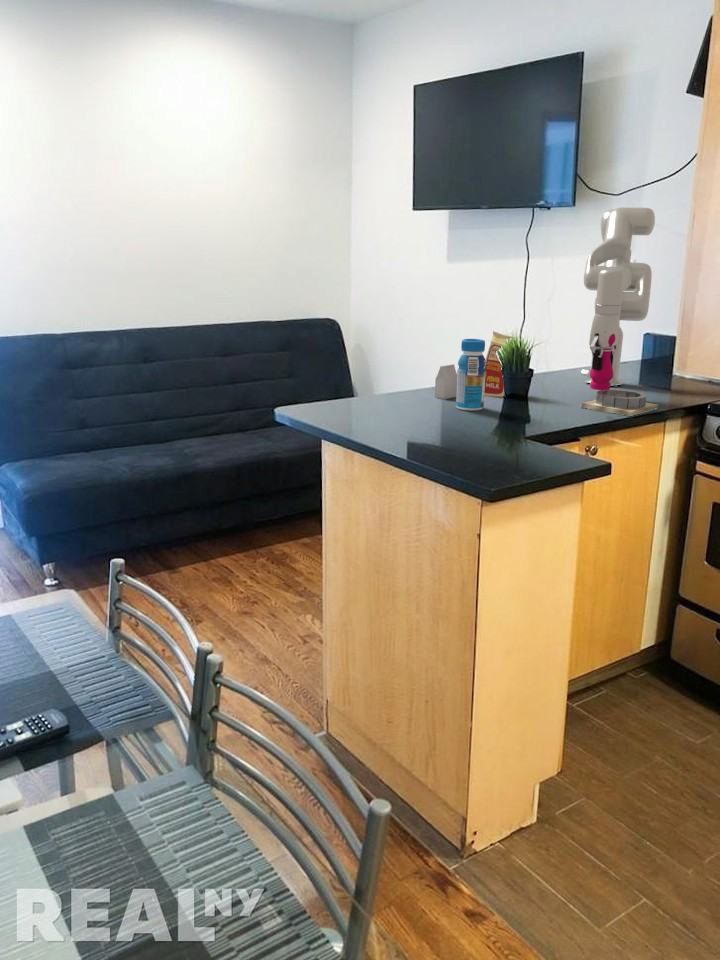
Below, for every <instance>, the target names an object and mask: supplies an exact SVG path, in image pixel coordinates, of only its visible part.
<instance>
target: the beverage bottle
mask: <svg viewBox="0 0 720 960" xmlns="http://www.w3.org/2000/svg"><path fill="white" fill-rule="evenodd" d="M460 347H461V352H463V353H462V354H461V355H460V357H459V359H458V362H457V365H458V368H457V371H456V373H457V396H456V397H455V398H456V399H455V407H456V409H458V410H462V411H471V412H472V411H473V412H474V411H480V410H483V409H484V407H485V396H484V390H485V377H486V370H485V366H486V357H485V356H484V353H485V351H486V348H485V347H486V340H484V339H479V338H463V339H461V346H460Z"/></svg>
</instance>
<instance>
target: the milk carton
mask: <svg viewBox="0 0 720 960" xmlns="http://www.w3.org/2000/svg"><path fill="white" fill-rule="evenodd" d="M510 338H514V339H515V338H516V337H515V336H512V335H511V336H510V335H506V334H502V333H499V332H497V331H494V330H493V331H492V337H491V341H490V344H489V347H488V350H487V355H486V356H485V360H486V366H485V370H486V377H485V390H484V397H495V398H496V397H497V398H498V397H499V398H504V397H503V396H504V383H503V377H502V370H501V364H500V362H499V360H498V358H497V355H496V351H497V350H499V349H500V348H501V346H502V345H503V343H504V341H505V340H506V339H510Z"/></svg>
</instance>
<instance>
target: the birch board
mask: <svg viewBox="0 0 720 960" xmlns="http://www.w3.org/2000/svg"><path fill="white" fill-rule="evenodd" d="M657 407H658V408H659V404H656V403H650V402H646V404H645V407H642V408H637V409H623V408H612V407H606V406H602V405H599V404H596V399H594V400H590V401H586V402H585V401H584V402H582V403H581V408H582V409H585V408H587V409H586V410H590V409H593V410H592V411H596V410H600V411H599V412H601V411H605V412H604V413H607V412H612V413H618V414H624V415H630V416H631V415H635V414H638V413H641V412H644V411H648V410H651V409H654V408H657ZM612 413H611V414H612ZM618 414H617V415H618Z"/></svg>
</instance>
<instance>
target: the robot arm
mask: <svg viewBox="0 0 720 960" xmlns="http://www.w3.org/2000/svg"><path fill="white" fill-rule="evenodd" d="M655 215H656V214H655V212H654V210H653V209H652V208H649V207H618V208H614V209H609V210H605V212H603V214H602V215H601V218H600V233H601V238H602V243H600V244H599V245H598V246H597V247H595V248H594V249H593V250H592V251H591V252H590V254H589V256H588V257H587V259H586V263H585V268H584V275H583V285H584V287H585V289H587V290H588V291H596V297H595V300H594V316H593V318H592V319H593V320H592V323H591V329H590V333H589V335H590V336H589V343H588V344H589V349H590V351H591V356H592V357H591V364H590V365H591V366H590V369H585V368H583V369H581V373H580V374H581V376H586V378H585V379H584V380H585V381H584V383H585V382H587V383H590V382H591V381H592V379H591V378H590V371H591V368H592V369H594V370H602V362H603V358H602V354H603V350H604V348H606V347H609V344H608V340H609V337H610V336H611V335H612V334H615V342H614V343H613V344H612V346H613V348H612V351H611V354H610V360H611V365H612V368H613V378H612V379H611V380H610V381H609V382H610V383H611V385H616V384H621V383H622V384H623V383H624V382H623V380H620V379H619V376H620V368H621V367H620V366H621V360H622V359H621V358H622V348H623V339H624V332H623V329H622V327H621V326H620V323H621V322H620V321H625V322H626V321H627V322H628V321H629V322H631V321H632V322H640V321H643V320H645V319H646V318H647V315H648V313H649V307H650V298H651V289H652V288H651V287H652V275H653V274H652V268H651V266H650V265H649V264H648V263H645V262H631V259H632V258H631V257H632V249H631V246H632V241H633V240H632V238H633V236H650V235H651V234H652V232H653V230H654V228H655V224H656V223H655V222H656V216H655ZM603 263H604V264H603ZM602 264H603V265H602ZM598 345H600V347H597V346H598ZM598 349H600V352H599V351H598ZM587 383H586V384H587Z"/></svg>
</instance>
